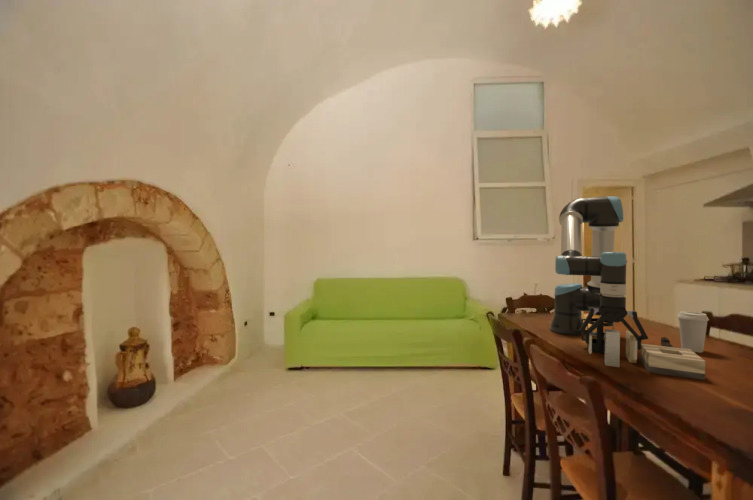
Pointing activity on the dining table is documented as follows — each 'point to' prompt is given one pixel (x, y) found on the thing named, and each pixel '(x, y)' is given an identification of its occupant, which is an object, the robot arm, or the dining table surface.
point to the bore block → (672, 361)
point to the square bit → (612, 348)
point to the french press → (598, 333)
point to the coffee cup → (692, 330)
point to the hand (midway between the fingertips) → (611, 355)
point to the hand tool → (665, 342)
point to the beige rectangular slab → (629, 346)
